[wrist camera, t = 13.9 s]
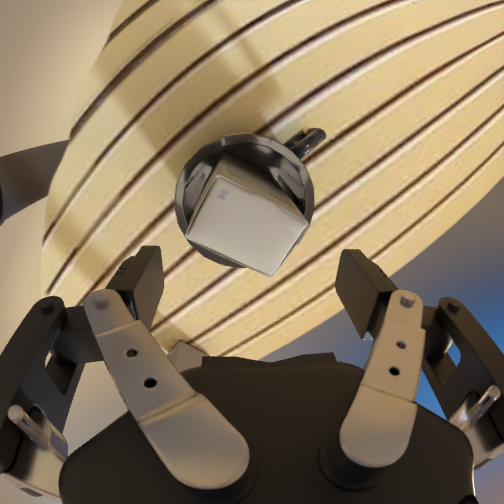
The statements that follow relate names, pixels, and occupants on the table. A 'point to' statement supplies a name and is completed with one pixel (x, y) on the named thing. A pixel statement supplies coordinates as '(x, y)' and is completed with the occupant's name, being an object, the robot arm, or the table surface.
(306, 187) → the mug
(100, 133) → the table surface
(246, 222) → the cosmetic box
